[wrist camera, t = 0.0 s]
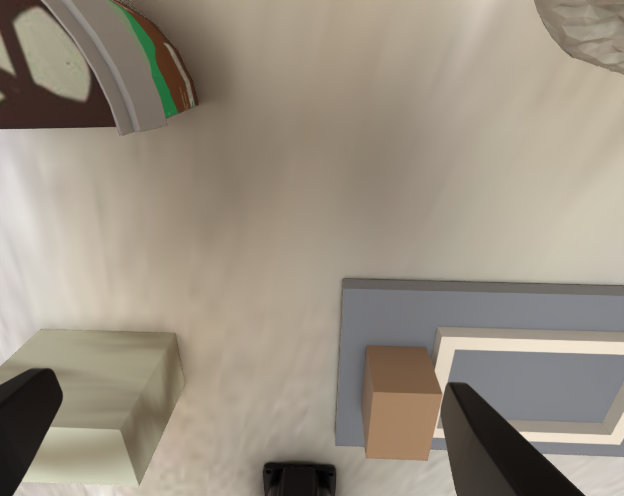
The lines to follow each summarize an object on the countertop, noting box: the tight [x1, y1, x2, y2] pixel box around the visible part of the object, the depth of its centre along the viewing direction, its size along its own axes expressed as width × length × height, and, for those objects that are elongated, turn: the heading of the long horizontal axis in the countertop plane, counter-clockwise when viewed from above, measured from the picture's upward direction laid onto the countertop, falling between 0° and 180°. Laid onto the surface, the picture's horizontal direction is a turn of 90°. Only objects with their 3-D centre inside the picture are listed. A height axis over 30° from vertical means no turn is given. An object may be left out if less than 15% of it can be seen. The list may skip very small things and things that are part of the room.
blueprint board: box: [335, 279, 624, 461], centre depth 25 cm, size 15×27×5 cm, turn 90°
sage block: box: [0, 329, 185, 487], centre depth 24 cm, size 5×10×8 cm, turn 90°
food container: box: [0, 0, 198, 136], centre depth 14 cm, size 12×6×10 cm, turn 91°
